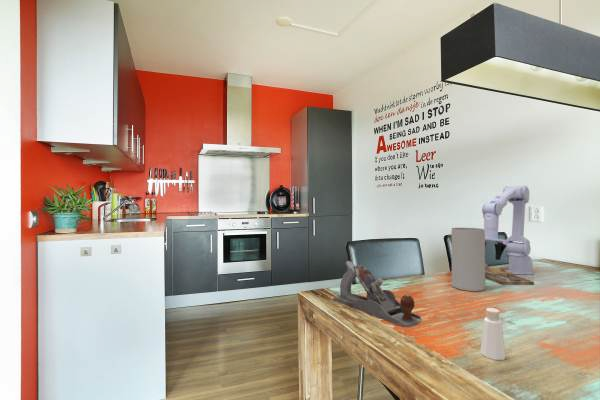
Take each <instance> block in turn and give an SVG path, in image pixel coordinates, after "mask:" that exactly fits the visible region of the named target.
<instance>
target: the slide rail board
mask: <svg viewBox="0 0 600 400" xmlns="http://www.w3.org/2000/svg"><path fill="white" fill-rule="evenodd" d="M488 271H489V272H490V270H488ZM500 272H505V270H500ZM497 275H500V276H502V277H505V278H508V279H509V282H506V281H503V280H501V279H498V278H496V277H493V276H491V275H488V274H486V273H485V279H486V280H489V281H492V282H494V283H496V284H499V285H501V286H512V285H513V286H523V285H524V286H534V285H535V282H534V281H533V280H532V281H531V280H530V279H528V278H527V279H526V278H523V277H521V276H518V275H516V274H509V276H507V274H497Z"/></svg>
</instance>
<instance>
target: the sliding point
mask: <svg viewBox="0 0 600 400" xmlns="http://www.w3.org/2000/svg"><path fill="white" fill-rule="evenodd" d="M489 268H490V270H489V271H490V273H492V274H507V276H509V274H512V272H506V271H504V272H500V271H501V267H498V266H490V267H489ZM512 275H513V274H512Z"/></svg>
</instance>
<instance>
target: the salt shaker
mask: <svg viewBox="0 0 600 400" xmlns="http://www.w3.org/2000/svg"><path fill="white" fill-rule="evenodd" d="M485 312H486V313H485V314H486V317H485V318H483V319H484V320H483V325H482V333H481V342H480V352H479V353H480V354H481V355H483V357H485V358H487V359H489V360H490V359H491V360H494V361H505V360H506V357H507V355H506V348H505V347H506V346H505V339H504V331H503V330H504V329H503V323H502V320H501V319H500V310H499V309H497V308H494V307H487V308H486V309H485Z"/></svg>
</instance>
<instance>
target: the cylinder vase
mask: <svg viewBox="0 0 600 400" xmlns="http://www.w3.org/2000/svg"><path fill="white" fill-rule="evenodd" d="M485 264H486V246H485V229H484V228H478V227H451V285H452V287H453V288H455V289H457V290H460V291H464V292H465V291H466V292H482V291H485V289H486V278H485Z"/></svg>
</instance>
